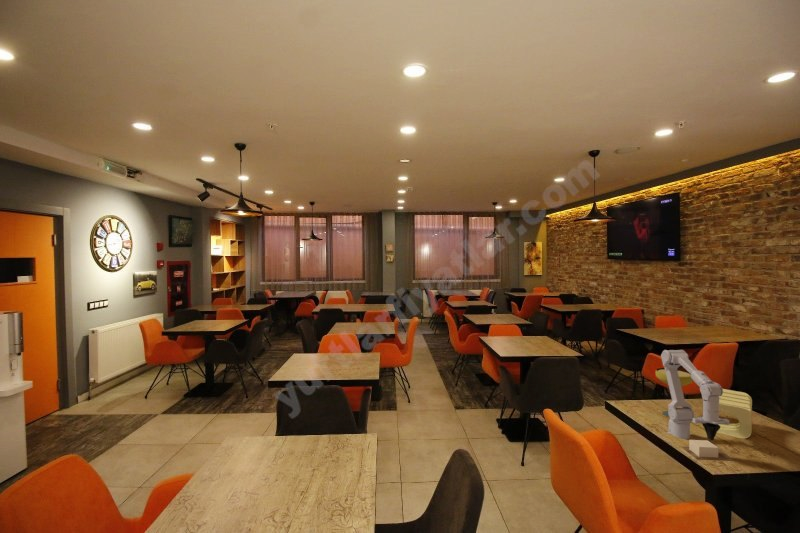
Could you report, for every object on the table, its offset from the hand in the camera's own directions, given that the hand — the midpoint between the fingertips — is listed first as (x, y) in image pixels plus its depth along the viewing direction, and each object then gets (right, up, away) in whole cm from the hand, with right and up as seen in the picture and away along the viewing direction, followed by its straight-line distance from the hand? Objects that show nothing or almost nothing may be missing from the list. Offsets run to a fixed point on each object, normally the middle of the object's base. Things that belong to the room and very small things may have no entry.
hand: (710, 439), depth 179 cm
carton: (+1, -4, 0) cm, 5 cm away
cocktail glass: (+17, -7, +48) cm, 51 cm away
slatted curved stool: (+31, -8, +26) cm, 42 cm away
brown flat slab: (-1, -8, 0) cm, 8 cm away
